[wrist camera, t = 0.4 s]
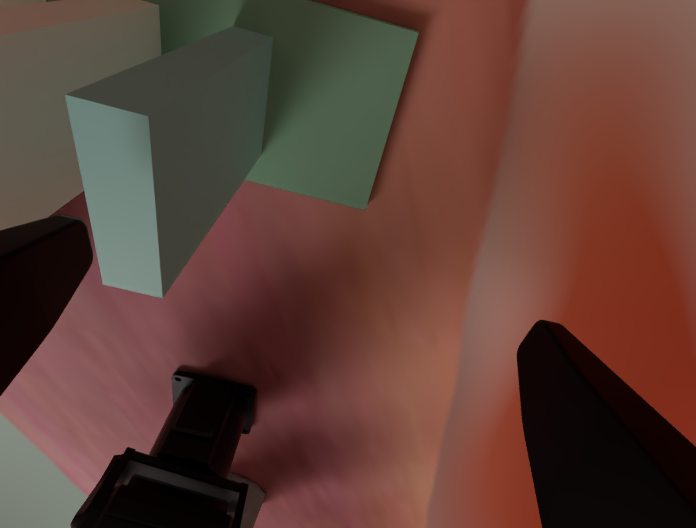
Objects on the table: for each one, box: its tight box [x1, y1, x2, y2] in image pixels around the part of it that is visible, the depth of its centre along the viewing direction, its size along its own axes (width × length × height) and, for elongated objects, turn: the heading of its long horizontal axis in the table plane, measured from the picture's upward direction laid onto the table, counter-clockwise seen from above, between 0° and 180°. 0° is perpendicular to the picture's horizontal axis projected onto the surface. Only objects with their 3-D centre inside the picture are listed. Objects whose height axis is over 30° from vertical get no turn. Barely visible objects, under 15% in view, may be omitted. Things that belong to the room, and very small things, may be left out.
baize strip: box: [46, 0, 419, 210], centre depth 17 cm, size 8×26×1 cm, turn 77°
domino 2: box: [65, 26, 273, 298], centre depth 13 cm, size 5×2×10 cm, turn 167°
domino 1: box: [0, 0, 162, 230], centre depth 13 cm, size 5×2×10 cm, turn 167°
